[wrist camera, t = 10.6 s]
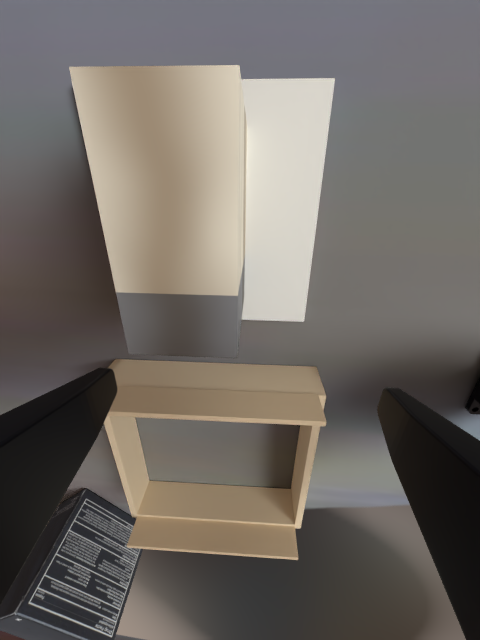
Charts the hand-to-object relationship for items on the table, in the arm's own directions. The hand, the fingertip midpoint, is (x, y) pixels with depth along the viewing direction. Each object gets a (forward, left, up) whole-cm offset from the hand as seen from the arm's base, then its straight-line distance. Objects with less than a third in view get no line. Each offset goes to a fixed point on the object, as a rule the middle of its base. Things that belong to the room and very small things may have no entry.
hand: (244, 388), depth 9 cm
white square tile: (+3, -4, -12) cm, 13 cm away
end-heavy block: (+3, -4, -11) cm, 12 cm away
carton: (+3, +16, -12) cm, 20 cm away
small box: (+18, +32, -12) cm, 38 cm away
